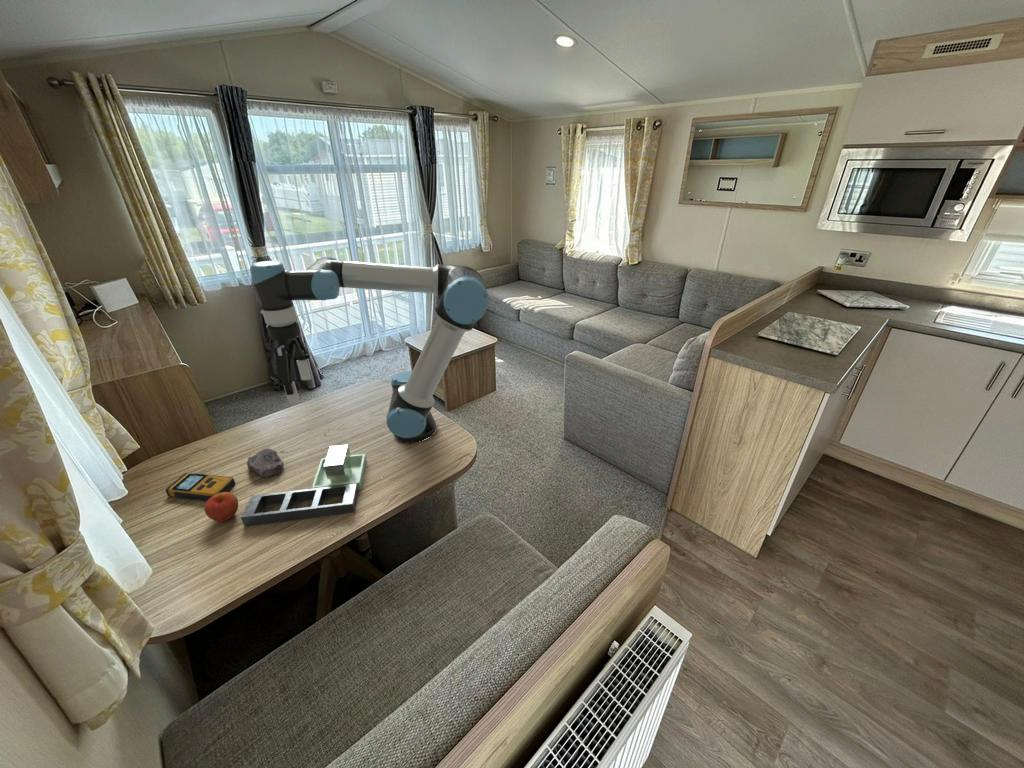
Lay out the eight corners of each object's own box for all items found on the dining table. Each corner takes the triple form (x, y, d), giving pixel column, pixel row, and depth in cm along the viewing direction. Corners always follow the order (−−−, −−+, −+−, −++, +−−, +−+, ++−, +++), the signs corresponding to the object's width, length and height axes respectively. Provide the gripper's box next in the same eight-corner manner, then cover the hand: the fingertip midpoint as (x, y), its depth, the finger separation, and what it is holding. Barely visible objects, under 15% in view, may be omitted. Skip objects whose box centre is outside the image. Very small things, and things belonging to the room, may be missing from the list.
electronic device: (217, 504, 114) (213, 496, 112) (167, 498, 115) (162, 490, 113) (238, 483, 121) (235, 475, 119) (191, 478, 122) (186, 470, 120)
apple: (231, 503, 113) (222, 482, 109) (248, 512, 111) (239, 491, 107) (204, 521, 108) (193, 499, 104) (221, 531, 105) (211, 509, 101)
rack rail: (358, 492, 118) (356, 483, 116) (354, 512, 111) (352, 503, 109) (255, 504, 113) (251, 495, 111) (244, 526, 106) (240, 517, 105)
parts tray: (366, 461, 130) (365, 453, 129) (361, 489, 119) (359, 482, 117) (323, 465, 128) (321, 458, 126) (313, 495, 117) (311, 487, 115)
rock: (264, 483, 121) (260, 471, 118) (244, 469, 126) (240, 457, 124) (290, 468, 127) (286, 457, 124) (270, 455, 132) (266, 444, 130)
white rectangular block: (352, 465, 127) (347, 444, 123) (347, 485, 120) (342, 464, 116) (335, 467, 127) (330, 446, 122) (329, 487, 119) (323, 466, 115)
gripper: (280, 307, 116) (298, 371, 126) (248, 341, 95) (273, 415, 105) (308, 306, 117) (323, 370, 128) (282, 339, 96) (303, 412, 106)
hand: (300, 390), depth 116 cm, fingers open, 13 cm apart
